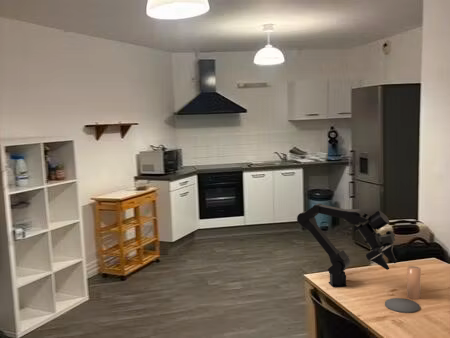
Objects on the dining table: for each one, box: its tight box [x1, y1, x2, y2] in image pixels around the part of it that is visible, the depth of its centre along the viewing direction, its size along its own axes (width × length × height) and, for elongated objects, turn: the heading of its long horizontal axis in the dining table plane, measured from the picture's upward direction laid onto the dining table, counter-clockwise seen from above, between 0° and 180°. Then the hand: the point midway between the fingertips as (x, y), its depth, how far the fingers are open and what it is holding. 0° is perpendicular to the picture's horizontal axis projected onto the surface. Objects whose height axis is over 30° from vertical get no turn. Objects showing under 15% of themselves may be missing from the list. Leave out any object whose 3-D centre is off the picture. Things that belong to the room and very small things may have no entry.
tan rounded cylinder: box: [406, 265, 422, 300], centre depth 189 cm, size 5×5×12 cm
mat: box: [384, 297, 421, 314], centre depth 181 cm, size 13×13×1 cm
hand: (392, 266), depth 192 cm, fingers open, 9 cm apart
